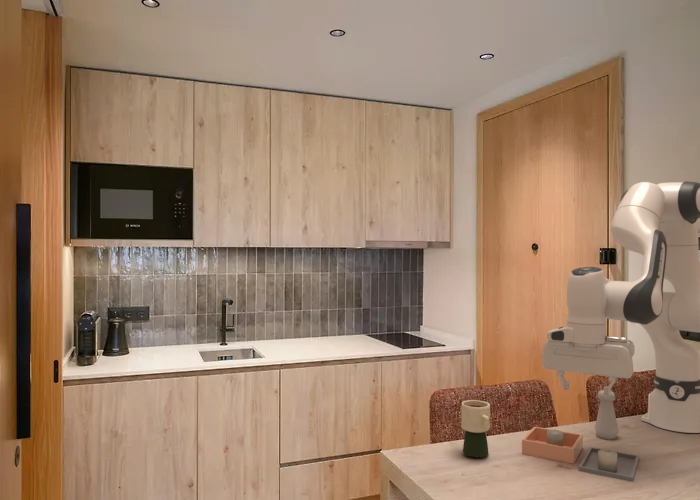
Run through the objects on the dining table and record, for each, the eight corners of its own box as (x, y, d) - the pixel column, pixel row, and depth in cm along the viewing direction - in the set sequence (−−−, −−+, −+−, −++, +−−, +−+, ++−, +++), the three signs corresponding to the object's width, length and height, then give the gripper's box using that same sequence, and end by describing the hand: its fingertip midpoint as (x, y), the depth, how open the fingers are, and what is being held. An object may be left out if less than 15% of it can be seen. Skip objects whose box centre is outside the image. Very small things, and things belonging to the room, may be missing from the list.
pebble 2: (599, 465, 130) (599, 448, 130) (618, 468, 127) (618, 451, 127) (596, 470, 126) (596, 453, 126) (616, 474, 124) (616, 457, 124)
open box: (534, 441, 147) (534, 426, 147) (582, 450, 140) (582, 434, 140) (521, 455, 137) (521, 439, 137) (573, 466, 130) (573, 449, 130)
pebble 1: (548, 443, 143) (548, 428, 143) (564, 446, 141) (564, 431, 141) (545, 448, 140) (545, 432, 140) (561, 451, 138) (561, 435, 138)
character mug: (500, 461, 133) (500, 408, 133) (475, 465, 131) (475, 411, 131) (475, 446, 143) (475, 396, 143) (452, 449, 141) (452, 399, 141)
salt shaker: (613, 435, 152) (613, 388, 152) (621, 442, 146) (621, 394, 146) (591, 434, 152) (591, 388, 152) (599, 441, 147) (599, 393, 147)
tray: (589, 452, 139) (589, 446, 139) (639, 461, 133) (639, 455, 133) (578, 472, 126) (578, 466, 126) (632, 483, 120) (632, 477, 120)
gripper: (636, 336, 129) (636, 395, 129) (546, 329, 140) (546, 383, 140) (632, 340, 123) (632, 401, 123) (540, 332, 135) (539, 388, 135)
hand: (586, 391), depth 132 cm, fingers open, 8 cm apart
